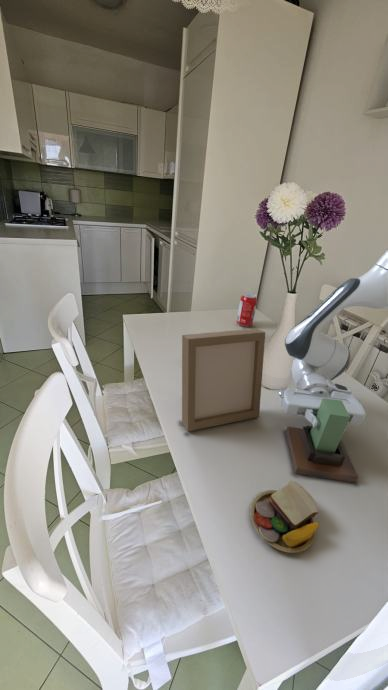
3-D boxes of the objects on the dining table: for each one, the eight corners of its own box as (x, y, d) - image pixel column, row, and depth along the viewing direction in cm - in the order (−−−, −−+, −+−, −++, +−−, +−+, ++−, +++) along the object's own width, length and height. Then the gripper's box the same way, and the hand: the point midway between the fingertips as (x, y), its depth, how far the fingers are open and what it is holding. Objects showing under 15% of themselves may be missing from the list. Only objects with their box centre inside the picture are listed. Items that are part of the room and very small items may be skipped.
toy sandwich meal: (237, 503, 63) (241, 488, 61) (290, 486, 68) (295, 471, 66) (273, 566, 53) (279, 551, 51) (331, 540, 58) (339, 525, 56)
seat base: (336, 439, 83) (342, 425, 81) (355, 482, 71) (363, 467, 68) (285, 431, 84) (289, 417, 81) (295, 473, 71) (300, 458, 69)
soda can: (232, 323, 149) (237, 293, 142) (243, 319, 154) (248, 291, 147) (245, 328, 144) (251, 298, 137) (255, 325, 149) (261, 296, 142)
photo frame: (258, 419, 87) (277, 341, 76) (187, 434, 79) (197, 350, 68) (234, 389, 99) (247, 318, 88) (170, 399, 91) (176, 323, 80)
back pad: (326, 437, 78) (341, 400, 73) (333, 455, 73) (350, 417, 67) (308, 435, 78) (322, 397, 73) (314, 452, 73) (330, 414, 68)
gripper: (280, 378, 83) (289, 410, 71) (356, 388, 82) (378, 423, 70) (275, 396, 86) (282, 431, 74) (348, 407, 85) (368, 443, 73)
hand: (330, 427), depth 72 cm, fingers closed on back pad, 4 cm apart
